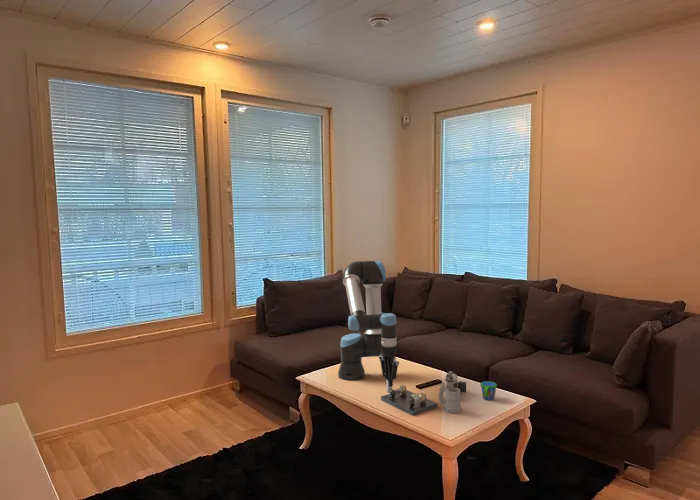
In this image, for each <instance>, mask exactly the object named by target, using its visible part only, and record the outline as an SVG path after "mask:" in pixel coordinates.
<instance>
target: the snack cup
mask: <svg viewBox="0 0 700 500" xmlns="http://www.w3.org/2000/svg"><path fill="white" fill-rule="evenodd" d="M480 387H481V393H482V398H483V399H484V400H487V401H489V400H490V401H492V400H494V399H495V397H496V391H497V387H498V385H497V383H496V382H494V381H490V380H489V381H487V380H486V381H485V380H484V381H482V382H480Z"/></svg>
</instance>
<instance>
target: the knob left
mask: <svg viewBox="0 0 700 500" xmlns="http://www.w3.org/2000/svg"><path fill="white" fill-rule="evenodd" d="M406 390H407V385H404V384H402V385H400V386H399V387H398V388H395V389H393V388H392V390H390V393H389V394H390V398H395V395H397V394H400V395H406Z"/></svg>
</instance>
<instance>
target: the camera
mask: <svg viewBox="0 0 700 500" xmlns="http://www.w3.org/2000/svg"><path fill="white" fill-rule="evenodd" d="M445 382H446V384H445V388H458V389H460V393H467V382H466V381H460V380H459V381H458V375H457V374H456V373H454V372H453V371H447V373H446V377H445Z"/></svg>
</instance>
